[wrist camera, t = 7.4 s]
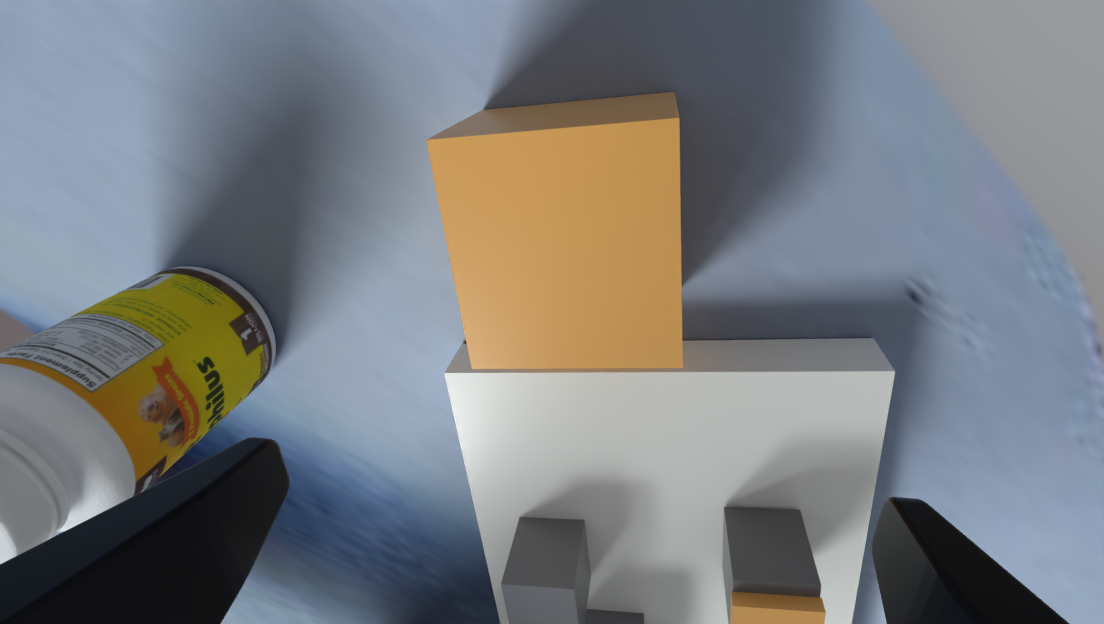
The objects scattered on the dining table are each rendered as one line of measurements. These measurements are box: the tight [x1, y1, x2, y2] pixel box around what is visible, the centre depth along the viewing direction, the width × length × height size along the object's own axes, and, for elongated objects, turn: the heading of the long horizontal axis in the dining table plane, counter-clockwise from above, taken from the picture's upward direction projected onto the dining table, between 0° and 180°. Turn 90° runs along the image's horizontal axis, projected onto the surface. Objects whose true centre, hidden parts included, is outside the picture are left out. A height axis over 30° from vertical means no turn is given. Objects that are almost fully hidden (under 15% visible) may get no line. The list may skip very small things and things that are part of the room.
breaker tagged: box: [722, 507, 826, 624], centre depth 19 cm, size 3×3×4 cm
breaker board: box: [445, 338, 895, 624], centre depth 22 cm, size 16×14×5 cm
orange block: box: [426, 92, 683, 369], centre depth 16 cm, size 6×6×5 cm
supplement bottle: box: [0, 266, 276, 564], centre depth 19 cm, size 6×6×10 cm
